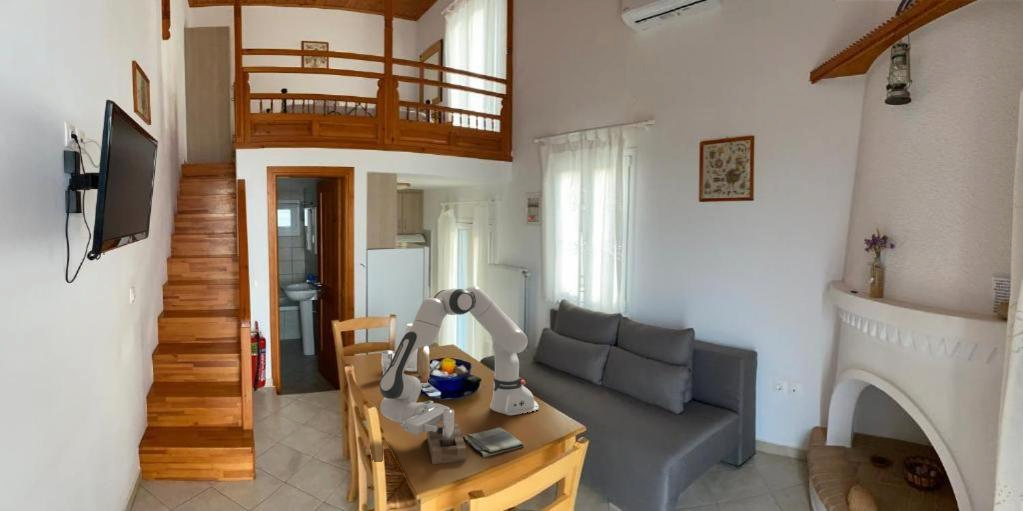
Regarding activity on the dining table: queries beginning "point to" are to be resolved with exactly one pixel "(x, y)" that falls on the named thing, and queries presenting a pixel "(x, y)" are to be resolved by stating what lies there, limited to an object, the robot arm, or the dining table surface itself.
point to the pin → (448, 427)
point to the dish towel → (493, 441)
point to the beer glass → (386, 359)
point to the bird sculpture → (423, 365)
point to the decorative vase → (413, 354)
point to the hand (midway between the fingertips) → (445, 424)
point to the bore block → (449, 452)
